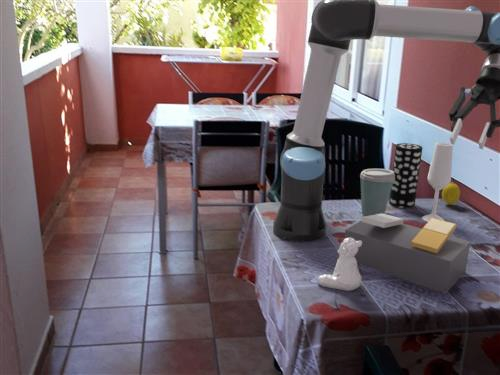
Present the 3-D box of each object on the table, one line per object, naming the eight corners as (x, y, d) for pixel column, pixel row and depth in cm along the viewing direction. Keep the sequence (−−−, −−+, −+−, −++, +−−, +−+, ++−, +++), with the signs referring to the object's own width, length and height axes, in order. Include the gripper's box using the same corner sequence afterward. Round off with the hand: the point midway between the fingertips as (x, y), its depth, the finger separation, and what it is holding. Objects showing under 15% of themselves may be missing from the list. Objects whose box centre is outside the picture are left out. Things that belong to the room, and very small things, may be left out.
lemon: (437, 202, 169) (441, 180, 167) (453, 202, 170) (456, 179, 167) (445, 208, 164) (448, 185, 162) (461, 207, 165) (464, 185, 162)
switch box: (368, 241, 137) (371, 214, 134) (465, 271, 121) (470, 241, 118) (342, 258, 126) (345, 229, 124) (445, 293, 111) (450, 261, 108)
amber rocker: (431, 221, 122) (431, 217, 122) (456, 228, 119) (456, 223, 118) (411, 245, 115) (411, 240, 114) (437, 253, 111) (437, 248, 110)
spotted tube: (414, 201, 169) (422, 144, 163) (414, 209, 162) (422, 150, 155) (389, 198, 172) (396, 142, 165) (388, 206, 164) (394, 147, 158)
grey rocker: (381, 218, 131) (382, 213, 131) (402, 223, 127) (404, 218, 127) (361, 221, 122) (362, 216, 121) (384, 227, 118) (385, 222, 118)
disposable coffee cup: (350, 217, 154) (355, 171, 149) (362, 207, 162) (366, 163, 158) (384, 225, 148) (389, 177, 144) (394, 214, 157) (400, 169, 152)
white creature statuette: (340, 271, 120) (345, 225, 116) (371, 285, 114) (376, 237, 110) (315, 284, 114) (318, 236, 110) (345, 299, 108) (350, 248, 104)
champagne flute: (449, 221, 152) (461, 145, 145) (432, 224, 150) (443, 147, 142) (433, 214, 158) (444, 140, 151) (417, 216, 156) (427, 142, 148)
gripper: (534, 87, 131) (507, 158, 124) (459, 81, 143) (431, 145, 136) (534, 68, 126) (506, 141, 119) (456, 63, 137) (426, 129, 130)
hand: (466, 143), depth 127 cm, fingers open, 6 cm apart
